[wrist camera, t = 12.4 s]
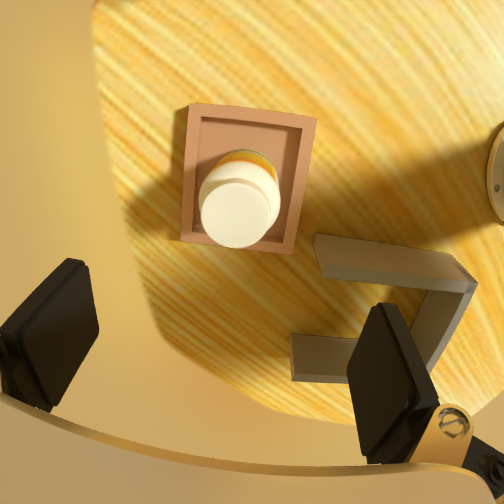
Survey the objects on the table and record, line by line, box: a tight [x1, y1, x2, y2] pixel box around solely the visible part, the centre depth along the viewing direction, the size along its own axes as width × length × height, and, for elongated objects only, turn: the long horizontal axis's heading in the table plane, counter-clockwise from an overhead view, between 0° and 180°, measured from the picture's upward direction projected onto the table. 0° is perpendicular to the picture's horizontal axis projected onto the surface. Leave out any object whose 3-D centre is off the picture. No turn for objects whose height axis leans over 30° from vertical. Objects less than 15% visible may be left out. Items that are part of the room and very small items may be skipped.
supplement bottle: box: [199, 149, 280, 248], centre depth 22 cm, size 5×5×10 cm
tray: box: [180, 103, 317, 255], centre depth 26 cm, size 12×10×2 cm
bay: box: [289, 233, 478, 384], centre depth 30 cm, size 13×16×6 cm
